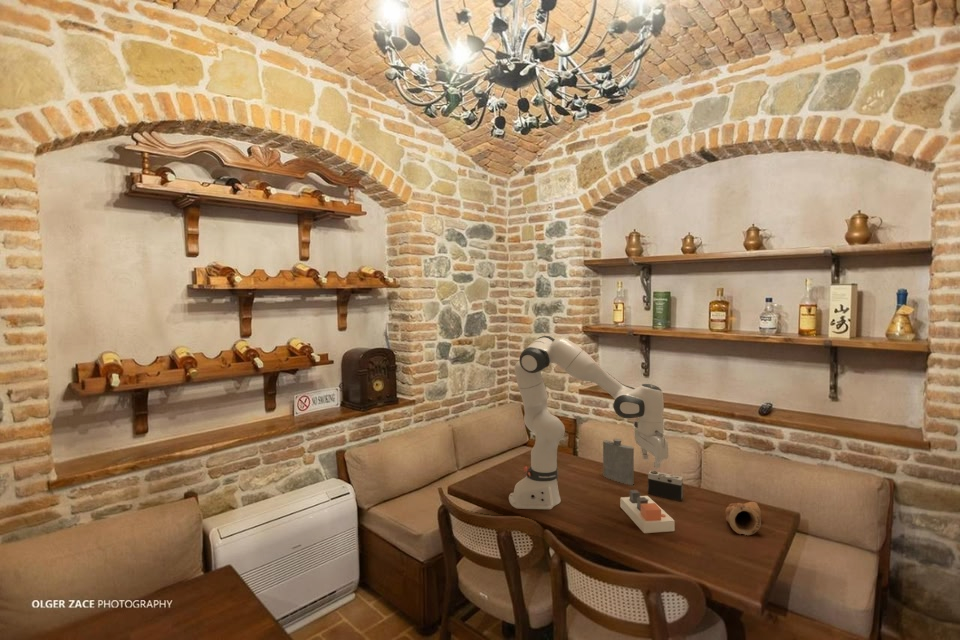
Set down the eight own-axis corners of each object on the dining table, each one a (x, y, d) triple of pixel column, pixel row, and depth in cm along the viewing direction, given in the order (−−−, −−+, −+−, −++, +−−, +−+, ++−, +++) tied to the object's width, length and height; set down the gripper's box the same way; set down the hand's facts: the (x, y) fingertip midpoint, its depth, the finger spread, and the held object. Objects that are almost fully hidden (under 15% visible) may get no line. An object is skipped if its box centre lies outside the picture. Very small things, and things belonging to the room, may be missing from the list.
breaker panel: (644, 533, 176) (644, 521, 176) (620, 506, 198) (620, 496, 197) (674, 531, 177) (674, 519, 177) (647, 505, 199) (647, 494, 199)
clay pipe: (713, 532, 183) (742, 539, 169) (707, 503, 185) (735, 508, 171) (753, 524, 187) (785, 530, 173) (746, 496, 190) (777, 500, 176)
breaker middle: (640, 511, 185) (640, 500, 185) (637, 508, 188) (637, 497, 188) (647, 511, 186) (647, 500, 185) (644, 508, 189) (644, 497, 188)
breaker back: (632, 504, 192) (632, 493, 192) (629, 500, 195) (629, 490, 195) (639, 503, 193) (639, 492, 192) (636, 500, 196) (636, 489, 195)
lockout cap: (646, 520, 177) (646, 510, 177) (640, 513, 183) (640, 503, 183) (661, 520, 177) (661, 509, 177) (654, 513, 183) (655, 503, 183)
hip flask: (634, 483, 221) (635, 442, 220) (630, 486, 218) (630, 444, 217) (605, 474, 233) (605, 434, 232) (600, 476, 230) (600, 436, 229)
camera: (685, 495, 208) (685, 473, 207) (680, 502, 201) (681, 479, 201) (652, 488, 216) (653, 466, 216) (647, 494, 210) (647, 472, 209)
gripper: (673, 435, 168) (672, 472, 169) (646, 419, 188) (646, 453, 189) (656, 435, 167) (656, 473, 168) (631, 420, 188) (631, 454, 189)
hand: (651, 463), depth 179 cm, fingers open, 8 cm apart
